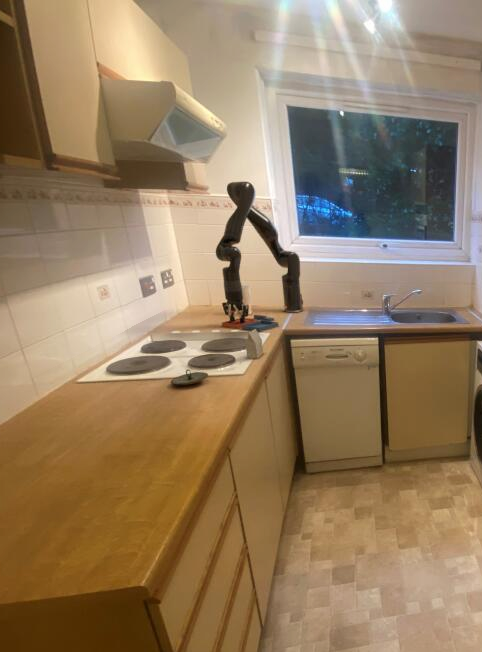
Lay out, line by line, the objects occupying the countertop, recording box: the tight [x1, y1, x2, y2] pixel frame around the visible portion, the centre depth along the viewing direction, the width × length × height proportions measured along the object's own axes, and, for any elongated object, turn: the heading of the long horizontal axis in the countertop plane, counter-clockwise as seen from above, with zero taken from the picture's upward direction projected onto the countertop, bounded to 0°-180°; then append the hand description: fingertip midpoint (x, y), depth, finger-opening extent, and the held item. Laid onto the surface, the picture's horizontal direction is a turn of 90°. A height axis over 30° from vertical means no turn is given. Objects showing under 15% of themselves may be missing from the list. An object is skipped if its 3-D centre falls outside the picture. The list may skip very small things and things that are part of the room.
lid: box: [170, 369, 209, 386], centre depth 139 cm, size 11×10×5 cm
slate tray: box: [241, 320, 279, 333], centre depth 211 cm, size 13×10×2 cm
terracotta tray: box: [221, 317, 259, 330], centre depth 214 cm, size 13×10×2 cm
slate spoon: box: [253, 314, 275, 322], centre depth 226 cm, size 10×3×2 cm, turn 73°
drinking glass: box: [240, 285, 253, 316], centre depth 234 cm, size 7×7×15 cm
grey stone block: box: [244, 329, 264, 359], centre depth 168 cm, size 4×7×10 cm, turn 5°
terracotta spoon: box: [231, 319, 251, 324], centre depth 214 cm, size 10×3×2 cm, turn 163°
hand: (237, 324), depth 212 cm, fingers open, 5 cm apart
